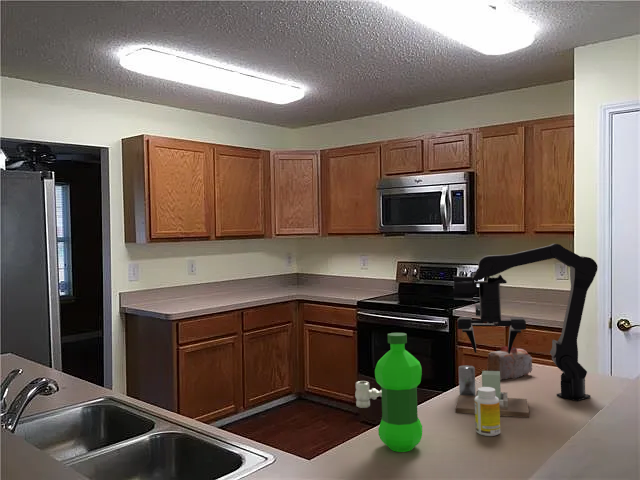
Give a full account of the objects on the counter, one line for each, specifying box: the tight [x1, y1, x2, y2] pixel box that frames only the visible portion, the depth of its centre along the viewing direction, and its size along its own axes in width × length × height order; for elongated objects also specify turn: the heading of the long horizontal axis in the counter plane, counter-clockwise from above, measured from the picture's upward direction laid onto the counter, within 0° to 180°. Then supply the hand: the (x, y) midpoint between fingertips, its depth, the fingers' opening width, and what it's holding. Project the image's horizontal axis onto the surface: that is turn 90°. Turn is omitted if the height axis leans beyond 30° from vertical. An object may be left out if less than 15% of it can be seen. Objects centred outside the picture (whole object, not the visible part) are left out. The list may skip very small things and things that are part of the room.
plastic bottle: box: [374, 332, 423, 453], centre depth 120 cm, size 10×10×25 cm
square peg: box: [481, 370, 502, 400], centre depth 146 cm, size 4×4×8 cm
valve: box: [354, 380, 382, 409], centre depth 152 cm, size 7×7×12 cm
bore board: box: [454, 390, 530, 418], centre depth 146 cm, size 18×12×3 cm, turn 71°
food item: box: [486, 345, 533, 381], centre depth 177 cm, size 14×8×10 cm, turn 116°
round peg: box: [458, 364, 477, 396], centre depth 158 cm, size 4×4×8 cm
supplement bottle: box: [474, 386, 501, 437], centre depth 128 cm, size 6×6×10 cm
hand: (492, 353), depth 158 cm, fingers open, 9 cm apart
